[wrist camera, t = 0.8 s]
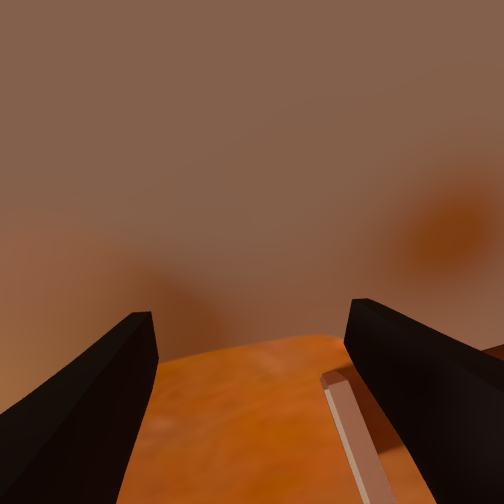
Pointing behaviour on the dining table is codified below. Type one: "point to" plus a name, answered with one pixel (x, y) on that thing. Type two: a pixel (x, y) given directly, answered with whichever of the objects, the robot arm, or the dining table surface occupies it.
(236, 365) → the dining table surface
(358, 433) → the tile
